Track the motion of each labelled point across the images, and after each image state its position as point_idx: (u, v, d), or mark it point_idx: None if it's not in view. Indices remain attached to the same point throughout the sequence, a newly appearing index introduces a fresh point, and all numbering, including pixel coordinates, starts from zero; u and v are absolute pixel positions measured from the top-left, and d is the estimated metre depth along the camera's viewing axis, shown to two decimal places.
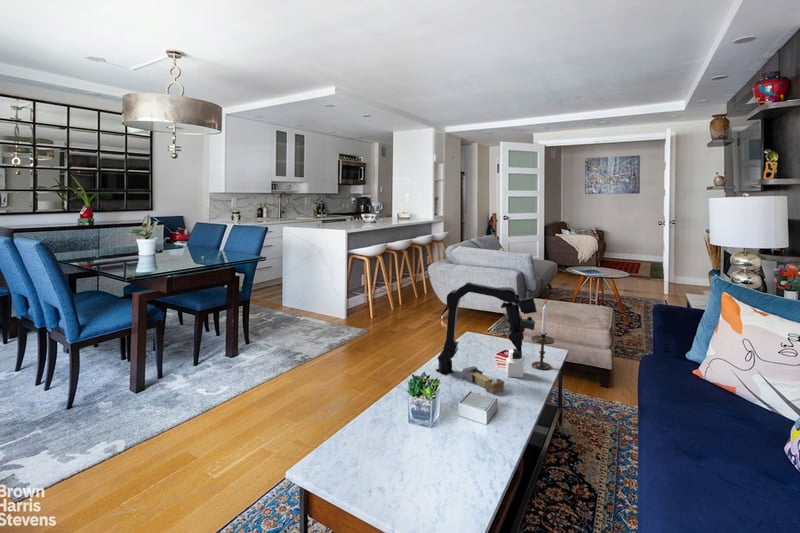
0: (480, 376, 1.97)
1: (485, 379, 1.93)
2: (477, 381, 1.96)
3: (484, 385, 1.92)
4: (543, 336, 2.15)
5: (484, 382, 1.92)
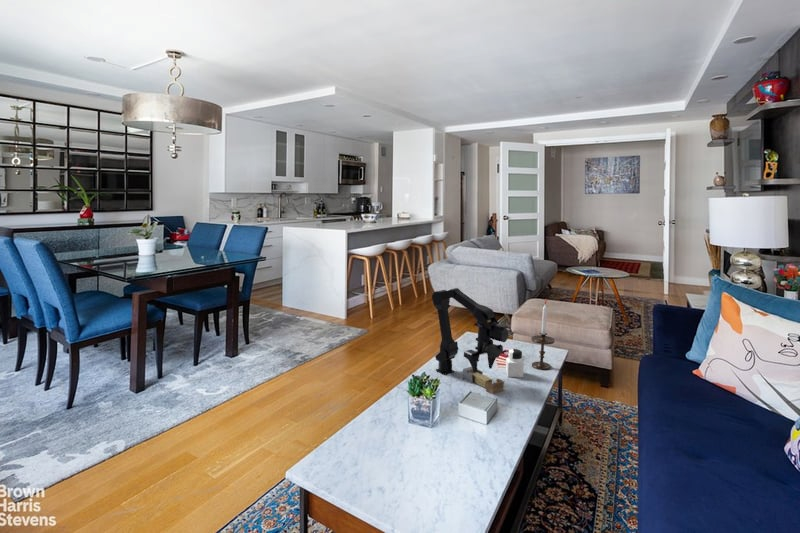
0: (480, 376, 1.97)
1: (485, 379, 1.93)
2: (477, 381, 1.96)
3: (484, 385, 1.92)
4: (543, 336, 2.15)
5: (484, 382, 1.92)
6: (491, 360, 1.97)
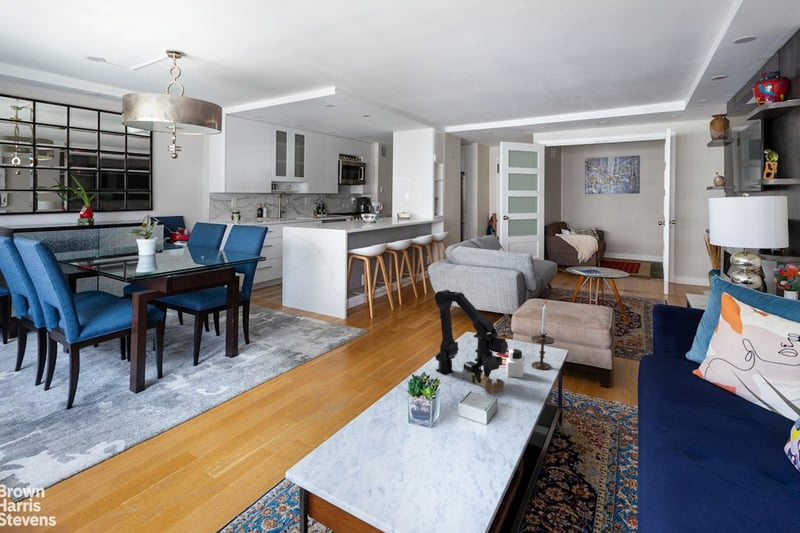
0: None
1: (485, 379, 1.93)
2: None
3: (484, 385, 1.92)
4: (543, 336, 2.15)
5: (484, 382, 1.92)
6: (487, 372, 1.96)
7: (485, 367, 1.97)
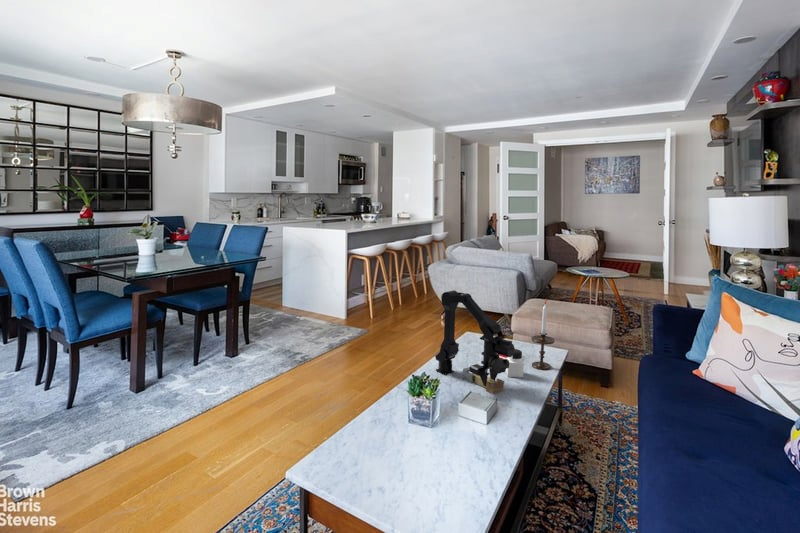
0: None
1: (491, 382, 1.90)
2: None
3: None
4: (543, 336, 2.15)
5: None
6: (493, 375, 1.93)
7: (491, 370, 1.94)
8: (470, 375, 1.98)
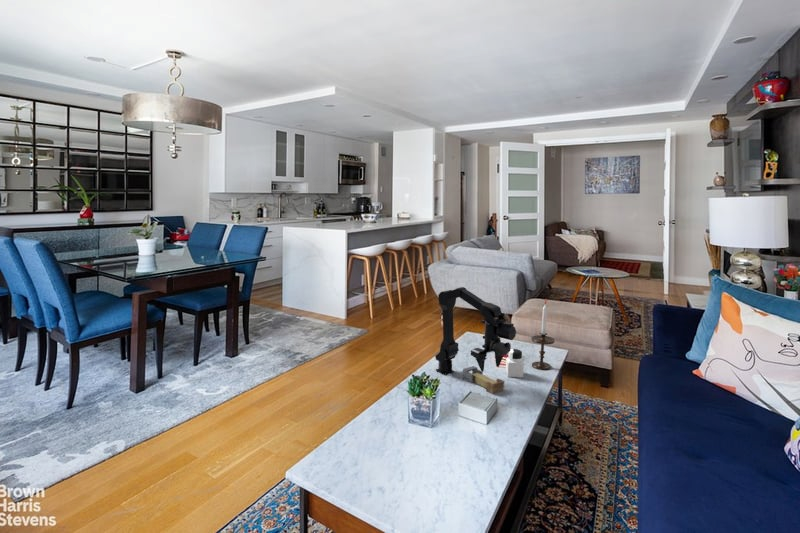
0: (486, 379, 1.93)
1: (491, 382, 1.90)
2: (483, 384, 1.93)
3: None
4: (543, 336, 2.15)
5: None
6: (498, 358, 1.93)
7: None
8: (470, 375, 1.98)
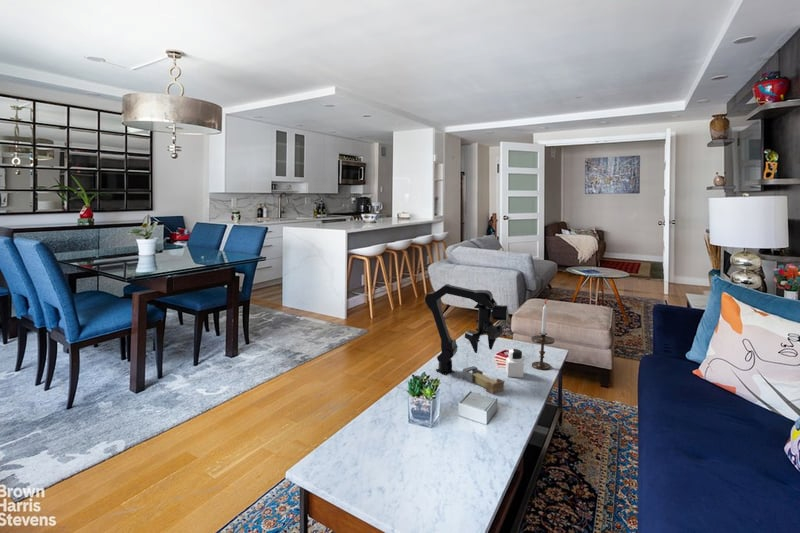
0: (486, 379, 1.93)
1: (491, 382, 1.90)
2: (483, 384, 1.93)
3: None
4: (543, 336, 2.15)
5: None
6: (491, 341, 2.03)
7: (489, 336, 2.04)
8: (470, 375, 1.98)
